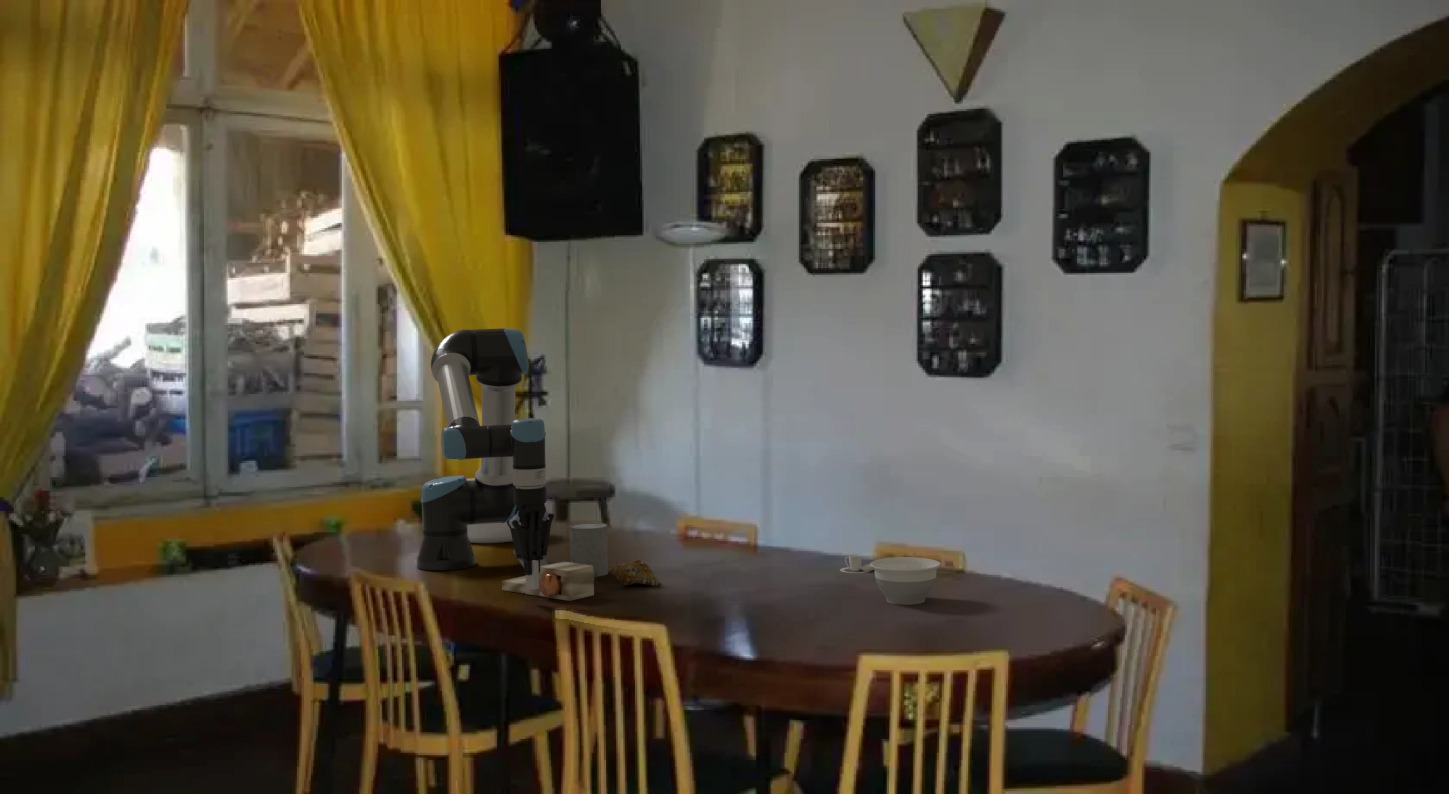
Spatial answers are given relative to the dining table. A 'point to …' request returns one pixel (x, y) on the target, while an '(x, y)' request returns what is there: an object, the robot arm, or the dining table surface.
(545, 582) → the pin
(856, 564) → the teacup and saucer
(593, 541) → the grey stone cylinder
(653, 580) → the seashell
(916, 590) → the bowl
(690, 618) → the dining table surface
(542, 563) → the latch flap
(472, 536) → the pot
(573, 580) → the block
